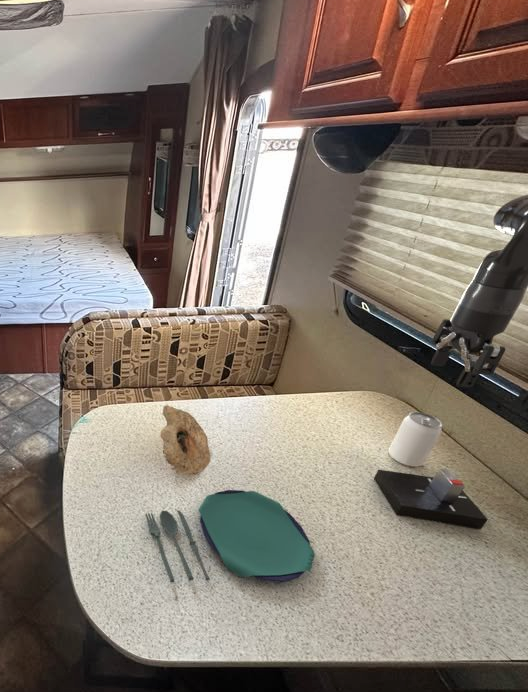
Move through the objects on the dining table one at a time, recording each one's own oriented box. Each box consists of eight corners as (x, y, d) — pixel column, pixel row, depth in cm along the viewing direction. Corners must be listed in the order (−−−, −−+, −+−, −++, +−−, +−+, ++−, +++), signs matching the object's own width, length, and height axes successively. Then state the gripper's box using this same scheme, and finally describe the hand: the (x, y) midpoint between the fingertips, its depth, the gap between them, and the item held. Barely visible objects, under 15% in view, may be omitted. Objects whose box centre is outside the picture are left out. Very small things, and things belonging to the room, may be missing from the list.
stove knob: (428, 485, 80) (439, 467, 78) (440, 486, 79) (451, 469, 77) (441, 501, 76) (453, 483, 74) (453, 503, 76) (465, 485, 73)
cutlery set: (335, 582, 66) (339, 575, 65) (170, 597, 65) (171, 589, 64) (269, 492, 84) (272, 485, 83) (139, 502, 83) (140, 495, 82)
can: (419, 454, 92) (441, 416, 86) (425, 471, 87) (448, 432, 81) (385, 445, 95) (404, 407, 89) (389, 461, 90) (409, 422, 85)
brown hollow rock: (206, 487, 93) (223, 477, 87) (151, 478, 92) (164, 466, 86) (195, 424, 105) (208, 410, 99) (146, 415, 104) (157, 401, 98)
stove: (448, 489, 82) (454, 479, 81) (480, 529, 74) (488, 519, 72) (373, 478, 86) (378, 468, 84) (396, 515, 77) (402, 504, 76)
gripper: (543, 321, 65) (496, 396, 73) (484, 294, 77) (449, 360, 85) (490, 318, 67) (449, 392, 75) (440, 292, 79) (409, 357, 87)
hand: (449, 375), depth 80 cm, fingers open, 8 cm apart
